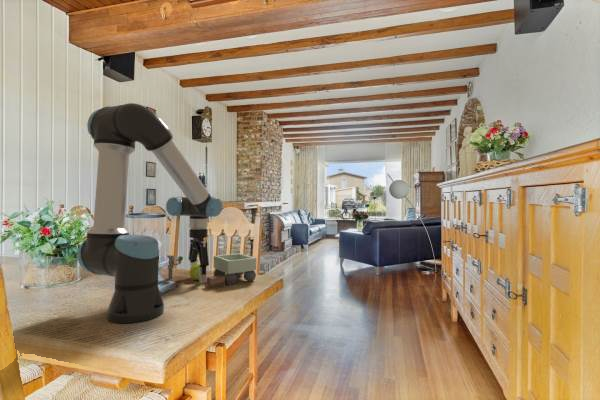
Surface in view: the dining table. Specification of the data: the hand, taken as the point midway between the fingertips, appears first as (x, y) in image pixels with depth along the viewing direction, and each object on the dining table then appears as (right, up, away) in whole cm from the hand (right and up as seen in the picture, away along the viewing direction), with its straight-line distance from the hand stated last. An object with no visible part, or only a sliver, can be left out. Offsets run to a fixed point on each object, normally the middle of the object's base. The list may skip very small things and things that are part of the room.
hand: (198, 279), depth 139 cm
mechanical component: (-13, 0, +2) cm, 13 cm away
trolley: (+16, 0, +1) cm, 16 cm away
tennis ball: (0, -1, 0) cm, 1 cm away
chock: (+10, -1, -10) cm, 15 cm away
